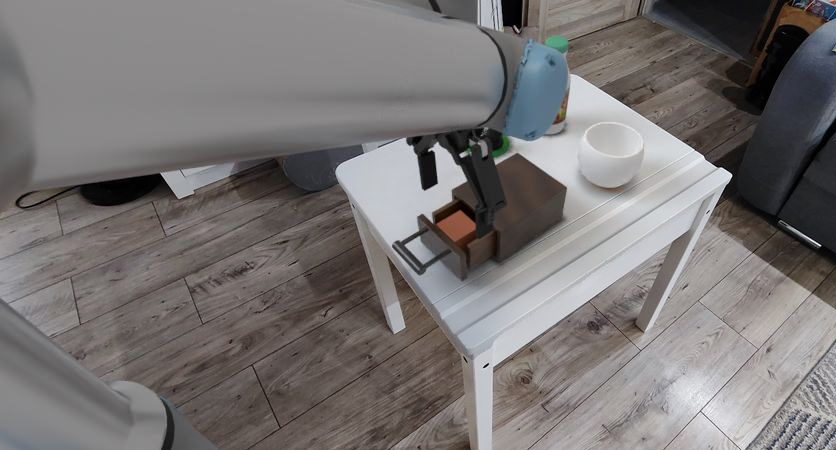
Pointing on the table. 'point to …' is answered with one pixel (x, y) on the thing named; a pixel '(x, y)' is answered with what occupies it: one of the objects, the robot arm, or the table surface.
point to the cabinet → (521, 203)
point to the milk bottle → (559, 122)
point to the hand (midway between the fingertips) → (455, 209)
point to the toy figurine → (493, 140)
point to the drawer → (447, 243)
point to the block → (459, 229)
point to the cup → (610, 154)
